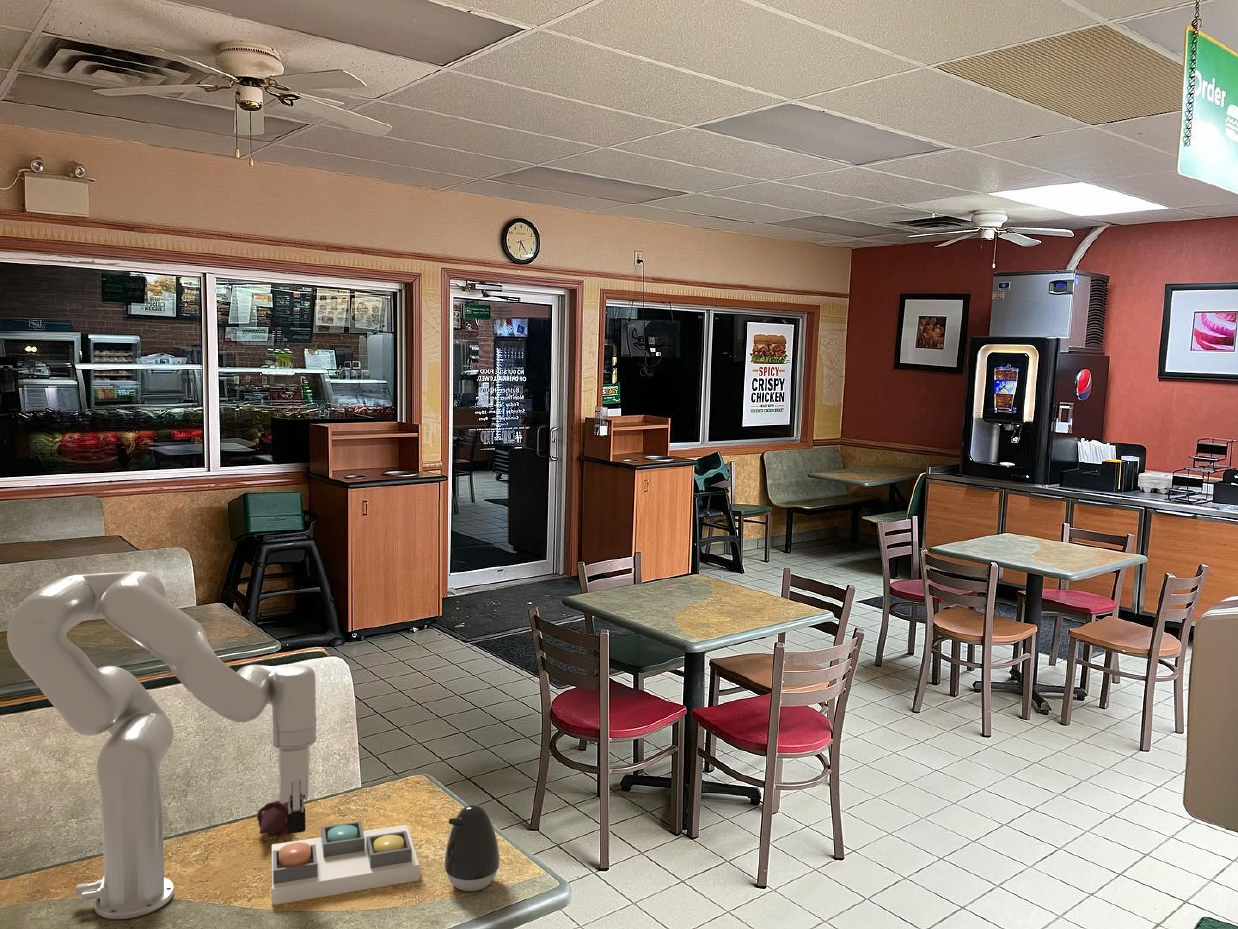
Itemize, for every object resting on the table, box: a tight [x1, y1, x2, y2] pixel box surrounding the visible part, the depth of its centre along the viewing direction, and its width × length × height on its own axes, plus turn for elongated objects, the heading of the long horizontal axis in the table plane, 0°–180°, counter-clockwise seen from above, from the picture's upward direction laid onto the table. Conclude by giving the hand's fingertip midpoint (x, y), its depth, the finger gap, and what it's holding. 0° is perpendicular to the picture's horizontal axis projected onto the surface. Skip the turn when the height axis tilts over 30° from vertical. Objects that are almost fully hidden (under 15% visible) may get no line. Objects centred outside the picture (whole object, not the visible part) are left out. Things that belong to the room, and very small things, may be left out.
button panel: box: [271, 820, 420, 906], centre depth 176 cm, size 26×17×6 cm, turn 111°
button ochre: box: [374, 835, 404, 853], centre depth 176 cm, size 6×6×2 cm
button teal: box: [328, 825, 357, 842], centre depth 180 cm, size 6×6×2 cm
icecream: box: [256, 800, 288, 836], centre depth 190 cm, size 7×7×15 cm
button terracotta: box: [279, 843, 311, 868], centre depth 170 cm, size 6×6×2 cm
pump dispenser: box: [444, 803, 501, 892], centre depth 171 cm, size 10×10×15 cm
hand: (296, 830), depth 169 cm, fingers closed
